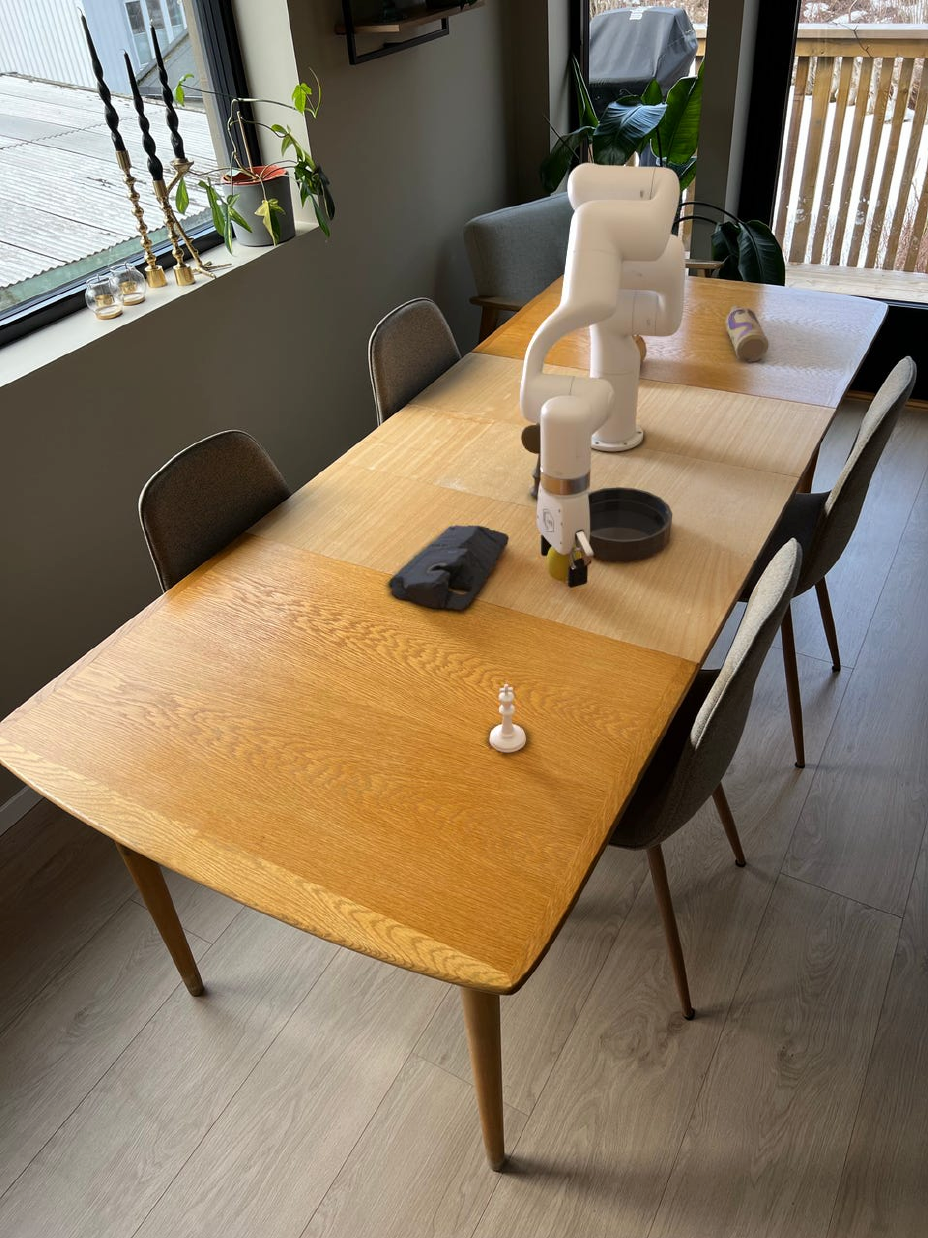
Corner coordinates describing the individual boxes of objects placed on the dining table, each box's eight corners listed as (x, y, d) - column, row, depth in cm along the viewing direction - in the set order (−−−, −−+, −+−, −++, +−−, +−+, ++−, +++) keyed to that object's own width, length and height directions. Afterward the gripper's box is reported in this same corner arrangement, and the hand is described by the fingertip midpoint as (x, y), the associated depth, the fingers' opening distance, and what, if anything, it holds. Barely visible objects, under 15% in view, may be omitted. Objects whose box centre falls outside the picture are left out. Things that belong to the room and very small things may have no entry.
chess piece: (487, 728, 134) (485, 674, 128) (523, 725, 134) (522, 670, 128) (491, 754, 130) (489, 699, 124) (528, 750, 130) (527, 696, 124)
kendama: (567, 484, 184) (569, 386, 171) (550, 510, 177) (551, 410, 164) (537, 479, 186) (537, 382, 173) (519, 505, 179) (518, 405, 166)
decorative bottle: (768, 362, 221) (772, 334, 217) (734, 363, 222) (737, 335, 218) (749, 319, 241) (753, 292, 237) (718, 319, 242) (721, 293, 238)
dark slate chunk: (524, 548, 168) (524, 524, 165) (460, 619, 153) (459, 595, 150) (448, 526, 174) (446, 504, 171) (380, 593, 160) (377, 569, 157)
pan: (553, 522, 174) (553, 501, 171) (637, 500, 178) (639, 478, 175) (599, 573, 161) (600, 551, 158) (689, 547, 165) (691, 525, 163)
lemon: (578, 592, 157) (579, 552, 152) (544, 590, 158) (544, 549, 153) (581, 573, 161) (583, 532, 156) (548, 570, 162) (549, 530, 157)
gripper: (519, 457, 153) (520, 547, 163) (569, 510, 140) (567, 604, 151) (561, 447, 155) (560, 536, 165) (615, 498, 142) (609, 591, 153)
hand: (563, 568), depth 158 cm, fingers open, 9 cm apart
